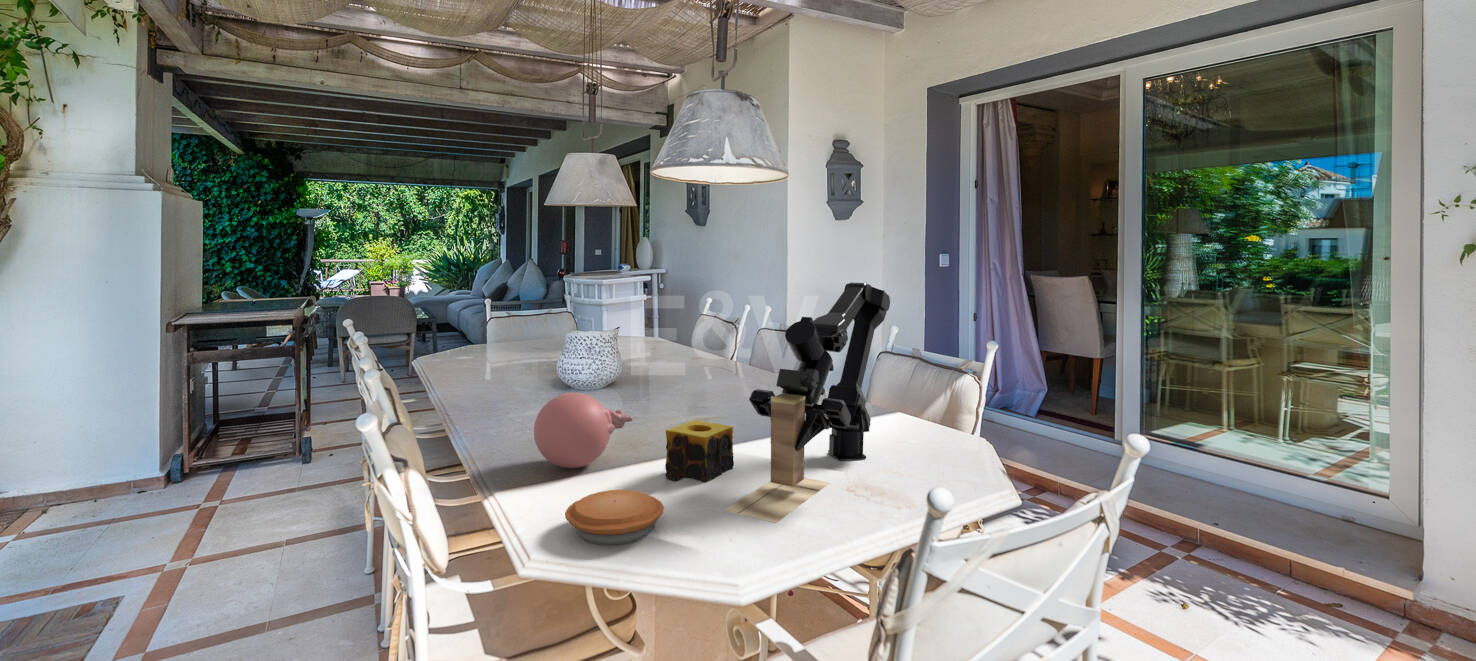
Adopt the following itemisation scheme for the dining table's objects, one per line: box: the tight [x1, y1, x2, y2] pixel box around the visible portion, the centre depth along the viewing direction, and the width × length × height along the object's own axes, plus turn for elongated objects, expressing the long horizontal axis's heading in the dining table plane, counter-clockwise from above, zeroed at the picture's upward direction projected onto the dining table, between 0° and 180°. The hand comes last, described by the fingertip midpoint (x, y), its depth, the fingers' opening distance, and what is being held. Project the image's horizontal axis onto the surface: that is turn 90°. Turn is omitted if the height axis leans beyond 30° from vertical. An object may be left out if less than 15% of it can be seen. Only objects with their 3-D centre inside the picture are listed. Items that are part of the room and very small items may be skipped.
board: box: [723, 477, 831, 524], centre depth 120 cm, size 22×10×1 cm, turn 149°
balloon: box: [533, 392, 634, 469], centre depth 139 cm, size 15×20×15 cm
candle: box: [664, 419, 735, 483], centre depth 133 cm, size 10×10×10 cm
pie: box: [564, 489, 665, 546], centre depth 108 cm, size 16×16×5 cm
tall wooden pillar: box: [770, 392, 806, 487], centre depth 121 cm, size 5×5×16 cm
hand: (784, 447), depth 120 cm, fingers closed on tall wooden pillar, 4 cm apart
